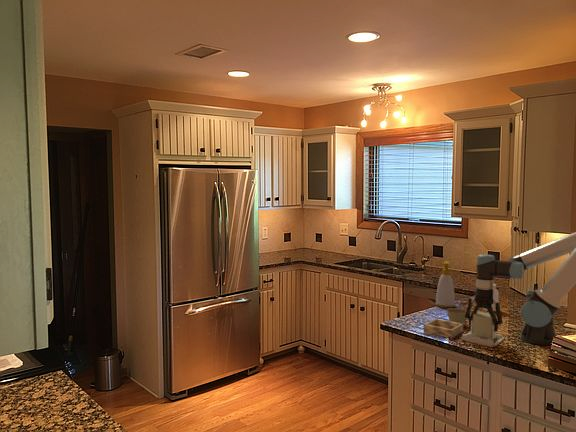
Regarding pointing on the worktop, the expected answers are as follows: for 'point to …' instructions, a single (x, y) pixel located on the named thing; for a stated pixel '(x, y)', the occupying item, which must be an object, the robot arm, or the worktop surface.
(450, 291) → the soap bottle
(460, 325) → the open box
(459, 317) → the flower pot
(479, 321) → the can
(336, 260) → the worktop surface
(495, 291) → the pill bottle
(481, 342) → the white square frame
